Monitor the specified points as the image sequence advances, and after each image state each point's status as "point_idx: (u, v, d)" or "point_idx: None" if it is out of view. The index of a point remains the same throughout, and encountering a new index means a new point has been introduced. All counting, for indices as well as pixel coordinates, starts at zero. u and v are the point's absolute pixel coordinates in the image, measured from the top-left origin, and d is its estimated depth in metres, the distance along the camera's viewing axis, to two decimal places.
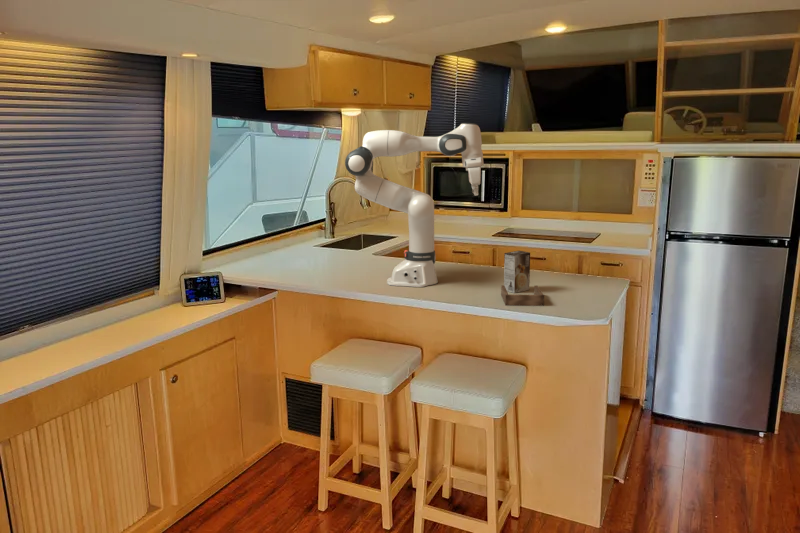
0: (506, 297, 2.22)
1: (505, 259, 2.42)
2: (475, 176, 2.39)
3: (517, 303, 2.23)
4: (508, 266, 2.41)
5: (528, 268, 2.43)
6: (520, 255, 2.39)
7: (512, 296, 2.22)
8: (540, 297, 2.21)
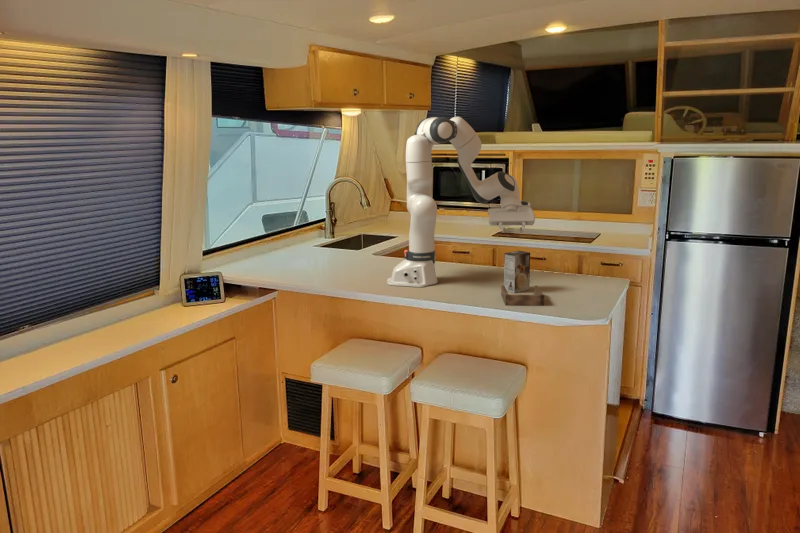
0: (506, 297, 2.22)
1: (505, 259, 2.42)
2: None
3: (517, 303, 2.23)
4: (508, 266, 2.41)
5: (528, 268, 2.43)
6: (520, 255, 2.38)
7: (512, 296, 2.22)
8: (540, 297, 2.21)
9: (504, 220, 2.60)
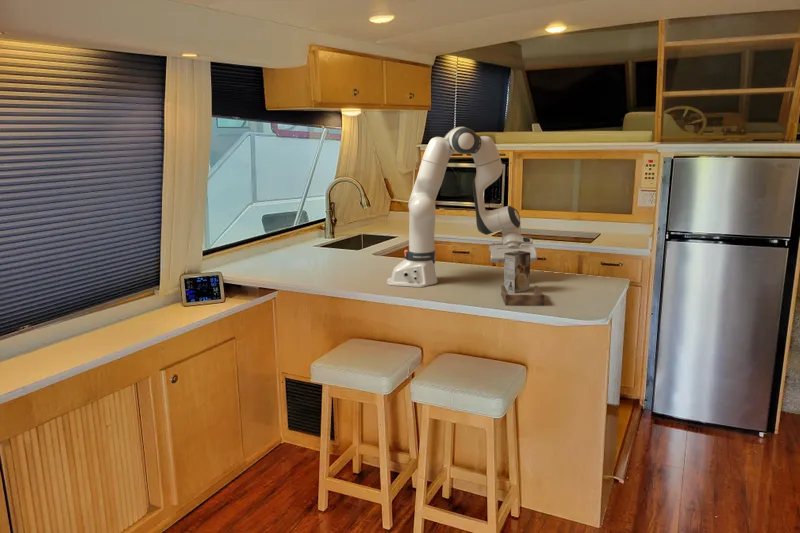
0: (506, 297, 2.22)
1: (505, 259, 2.42)
2: None
3: (517, 303, 2.23)
4: (508, 266, 2.41)
5: (528, 268, 2.43)
6: (520, 255, 2.38)
7: (512, 296, 2.22)
8: (540, 297, 2.21)
9: None
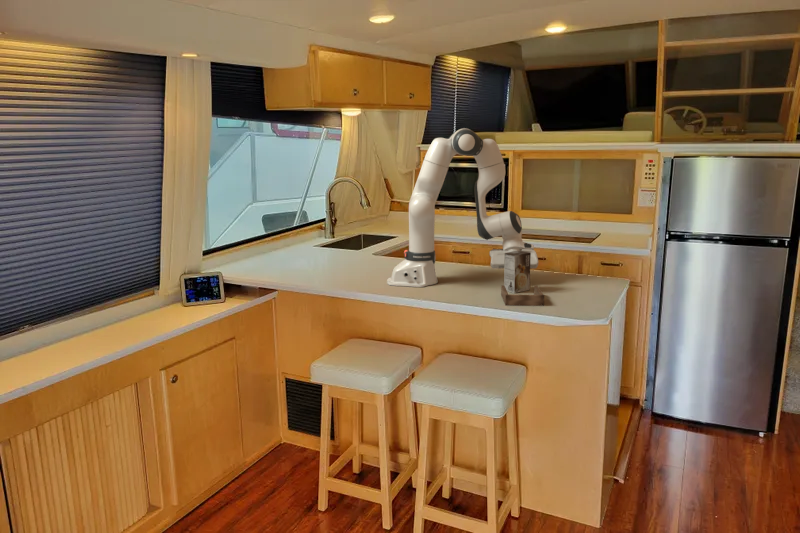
0: (506, 297, 2.22)
1: (505, 259, 2.41)
2: None
3: (517, 303, 2.23)
4: (508, 266, 2.41)
5: (528, 268, 2.42)
6: (520, 255, 2.38)
7: (512, 296, 2.22)
8: (540, 297, 2.21)
9: None
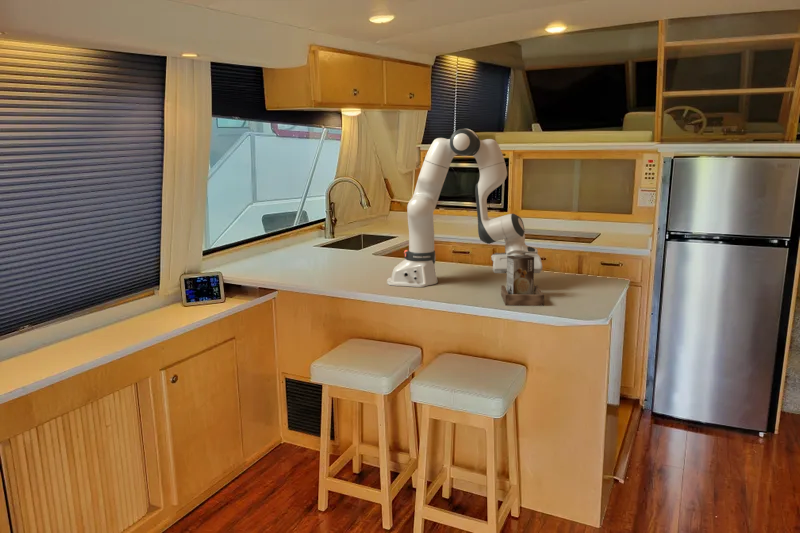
0: (506, 297, 2.22)
1: (507, 262, 2.35)
2: None
3: (517, 303, 2.23)
4: (509, 270, 2.34)
5: (531, 273, 2.33)
6: (520, 259, 2.30)
7: (512, 296, 2.22)
8: (540, 297, 2.21)
9: None
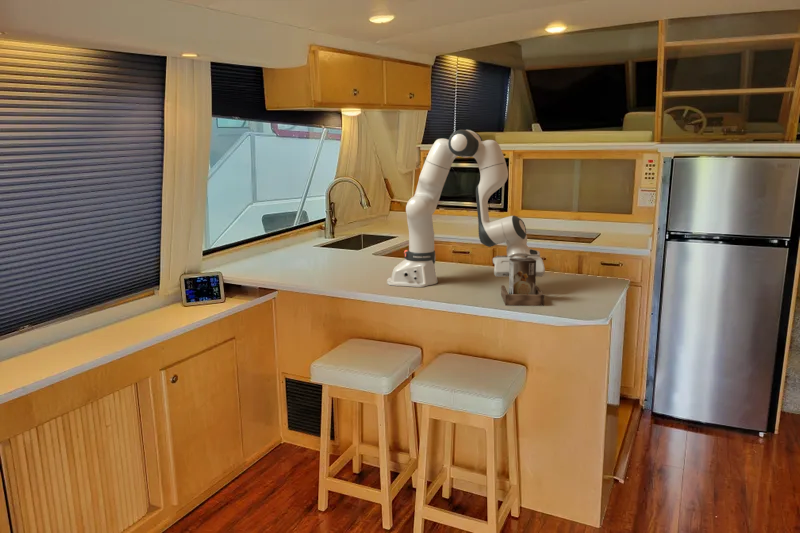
0: (506, 297, 2.22)
1: (509, 265, 2.31)
2: None
3: (517, 303, 2.23)
4: (510, 272, 2.30)
5: (533, 277, 2.27)
6: (521, 262, 2.25)
7: (512, 296, 2.22)
8: (540, 297, 2.21)
9: None
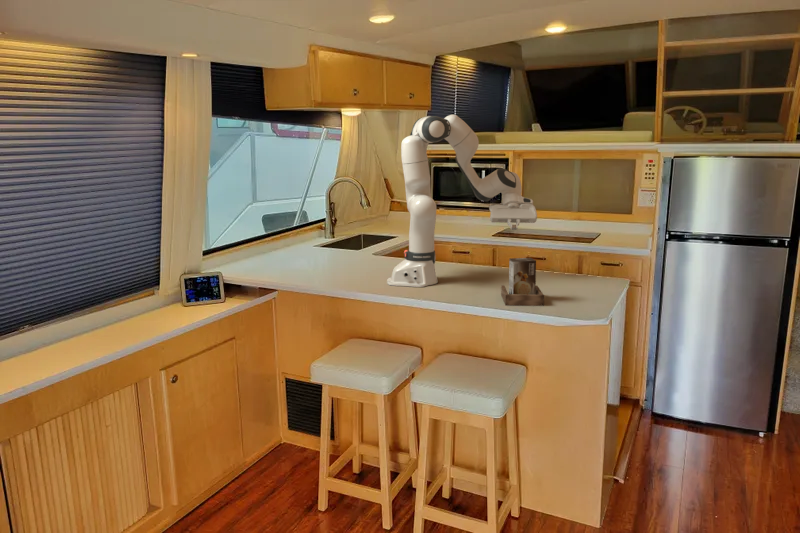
0: (506, 297, 2.22)
1: (509, 265, 2.31)
2: None
3: (517, 303, 2.23)
4: (510, 272, 2.30)
5: (533, 277, 2.27)
6: (521, 262, 2.25)
7: (512, 296, 2.22)
8: (540, 297, 2.21)
9: (506, 217, 2.55)
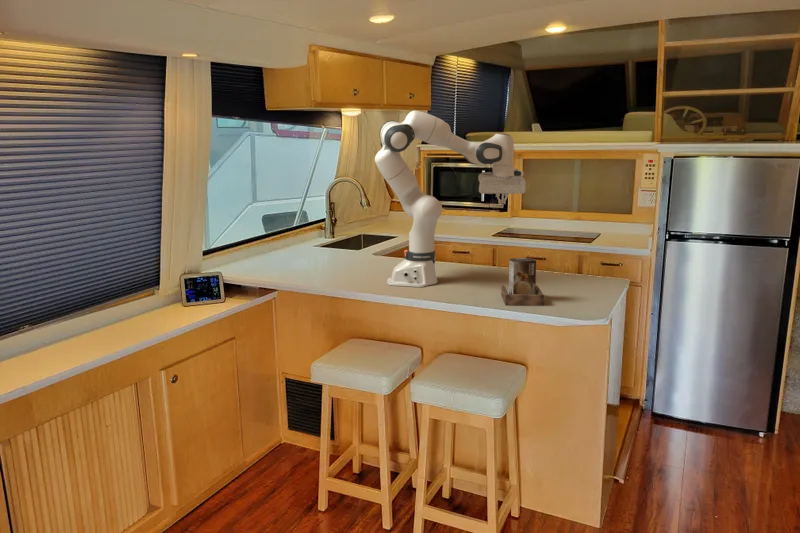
0: (506, 297, 2.22)
1: (509, 265, 2.31)
2: None
3: (517, 303, 2.23)
4: (510, 272, 2.30)
5: (533, 277, 2.27)
6: (521, 262, 2.25)
7: (512, 296, 2.22)
8: (540, 297, 2.21)
9: (494, 192, 2.53)
